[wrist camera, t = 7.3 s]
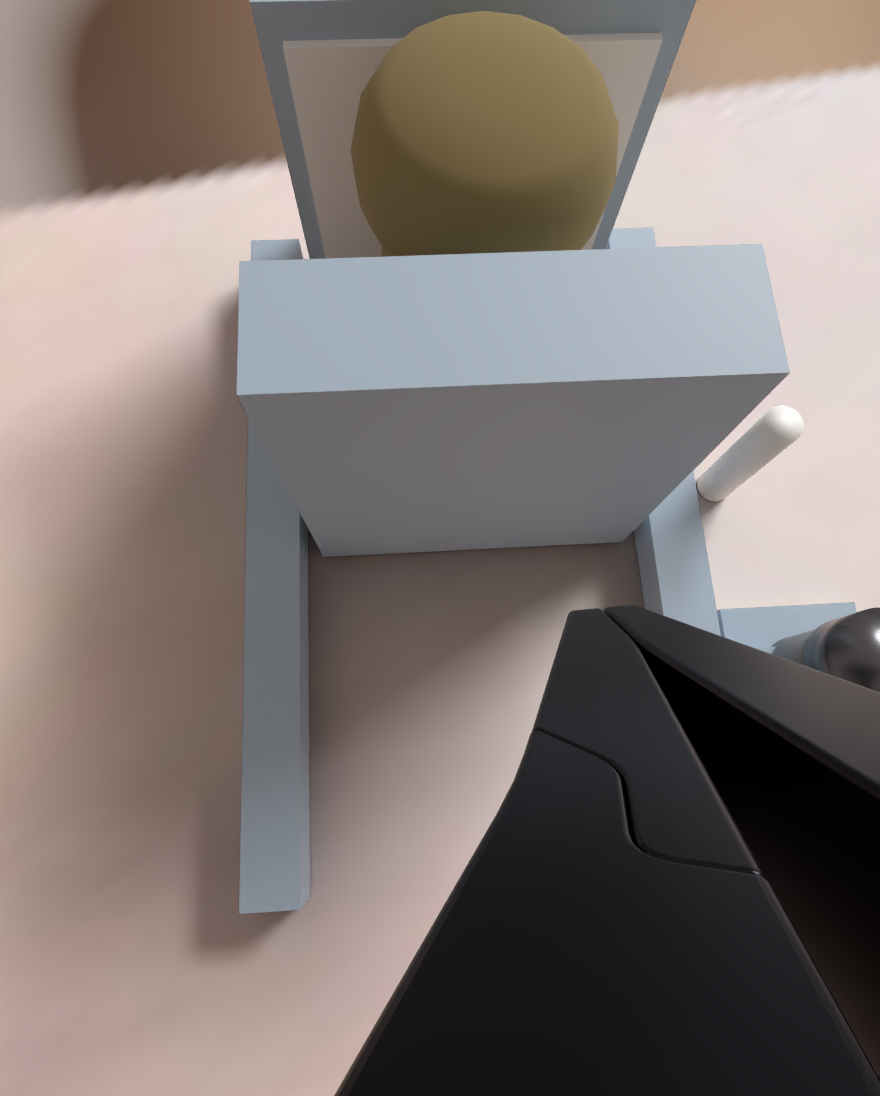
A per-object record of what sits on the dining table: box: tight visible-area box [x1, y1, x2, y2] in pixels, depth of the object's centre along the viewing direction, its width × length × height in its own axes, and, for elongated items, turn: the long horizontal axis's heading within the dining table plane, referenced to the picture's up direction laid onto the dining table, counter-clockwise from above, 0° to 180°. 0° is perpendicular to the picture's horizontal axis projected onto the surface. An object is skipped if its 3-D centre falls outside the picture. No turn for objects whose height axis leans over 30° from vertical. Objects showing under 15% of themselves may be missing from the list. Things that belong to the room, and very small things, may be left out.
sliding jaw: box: [237, 244, 790, 557], centre depth 16 cm, size 3×9×10 cm, turn 94°
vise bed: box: [239, 0, 857, 914], centre depth 17 cm, size 20×18×10 cm
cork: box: [351, 11, 619, 257], centre depth 17 cm, size 6×6×11 cm
